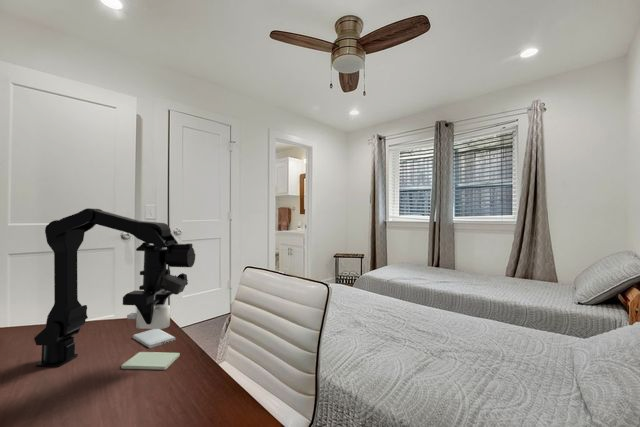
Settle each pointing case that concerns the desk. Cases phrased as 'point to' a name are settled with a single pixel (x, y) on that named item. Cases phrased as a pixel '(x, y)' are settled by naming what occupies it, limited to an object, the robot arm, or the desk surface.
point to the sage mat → (151, 360)
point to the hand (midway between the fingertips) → (153, 321)
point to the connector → (153, 318)
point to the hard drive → (153, 337)
